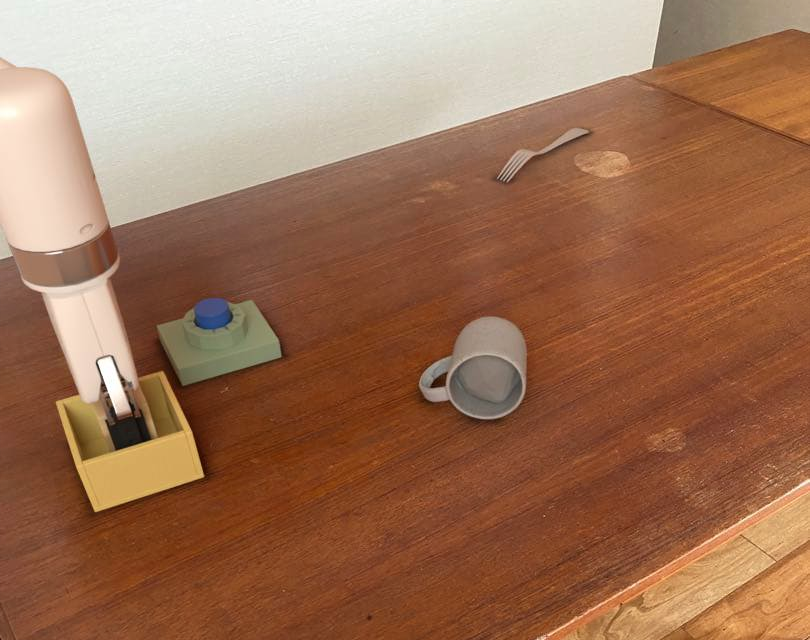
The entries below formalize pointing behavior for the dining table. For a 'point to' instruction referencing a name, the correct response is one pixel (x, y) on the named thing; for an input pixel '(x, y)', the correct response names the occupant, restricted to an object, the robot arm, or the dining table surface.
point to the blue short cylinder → (212, 313)
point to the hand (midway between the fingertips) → (128, 432)
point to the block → (100, 410)
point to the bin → (132, 449)
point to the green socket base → (218, 344)
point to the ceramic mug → (482, 370)
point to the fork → (564, 138)
